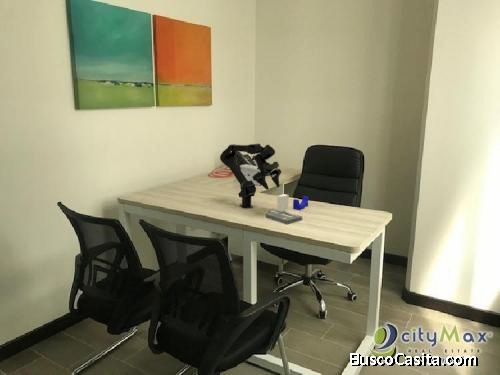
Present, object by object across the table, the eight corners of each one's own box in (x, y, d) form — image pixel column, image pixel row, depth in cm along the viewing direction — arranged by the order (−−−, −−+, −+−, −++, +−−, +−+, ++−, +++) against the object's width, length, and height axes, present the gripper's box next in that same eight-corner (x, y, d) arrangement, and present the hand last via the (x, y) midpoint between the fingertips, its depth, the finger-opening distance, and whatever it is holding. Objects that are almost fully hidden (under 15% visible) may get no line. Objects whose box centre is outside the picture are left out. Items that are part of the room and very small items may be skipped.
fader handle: (276, 214, 219) (277, 195, 217) (284, 212, 223) (284, 194, 220) (280, 215, 217) (281, 196, 215) (287, 213, 221) (288, 195, 218)
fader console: (265, 217, 222) (265, 211, 221) (280, 213, 229) (281, 207, 229) (286, 224, 210) (286, 218, 209) (301, 219, 218) (302, 214, 217)
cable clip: (299, 210, 236) (299, 200, 235) (292, 209, 239) (293, 199, 238) (309, 206, 245) (310, 197, 244) (303, 205, 248) (304, 195, 247)
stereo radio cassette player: (266, 184, 303) (266, 158, 299) (258, 186, 298) (259, 159, 293) (246, 180, 318) (246, 155, 313) (239, 181, 312) (239, 156, 307)
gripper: (259, 158, 216) (271, 184, 213) (281, 155, 229) (293, 179, 226) (247, 168, 224) (258, 193, 220) (269, 164, 237) (280, 188, 233)
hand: (273, 188), depth 225 cm, fingers open, 9 cm apart
